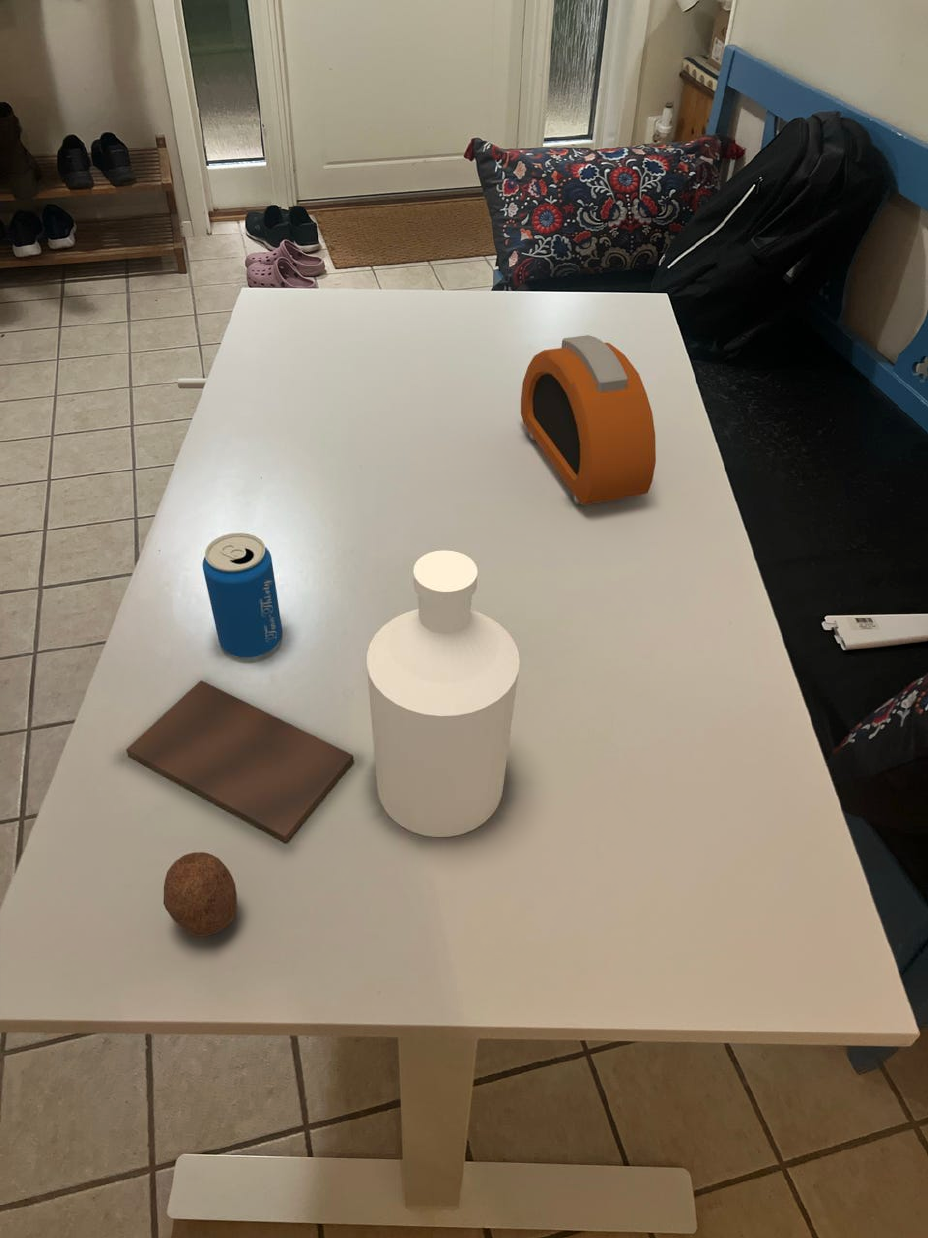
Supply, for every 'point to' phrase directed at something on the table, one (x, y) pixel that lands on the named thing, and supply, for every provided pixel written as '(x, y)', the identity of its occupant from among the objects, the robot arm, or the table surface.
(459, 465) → the table surface
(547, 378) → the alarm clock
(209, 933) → the coconut
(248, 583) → the beverage can
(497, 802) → the bottle
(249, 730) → the walnut board
